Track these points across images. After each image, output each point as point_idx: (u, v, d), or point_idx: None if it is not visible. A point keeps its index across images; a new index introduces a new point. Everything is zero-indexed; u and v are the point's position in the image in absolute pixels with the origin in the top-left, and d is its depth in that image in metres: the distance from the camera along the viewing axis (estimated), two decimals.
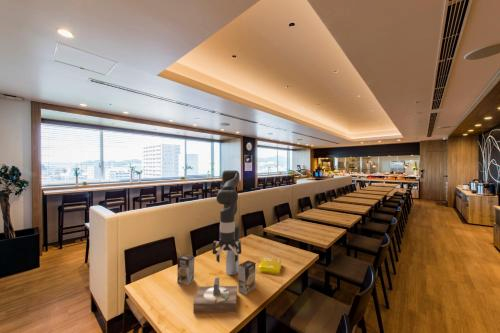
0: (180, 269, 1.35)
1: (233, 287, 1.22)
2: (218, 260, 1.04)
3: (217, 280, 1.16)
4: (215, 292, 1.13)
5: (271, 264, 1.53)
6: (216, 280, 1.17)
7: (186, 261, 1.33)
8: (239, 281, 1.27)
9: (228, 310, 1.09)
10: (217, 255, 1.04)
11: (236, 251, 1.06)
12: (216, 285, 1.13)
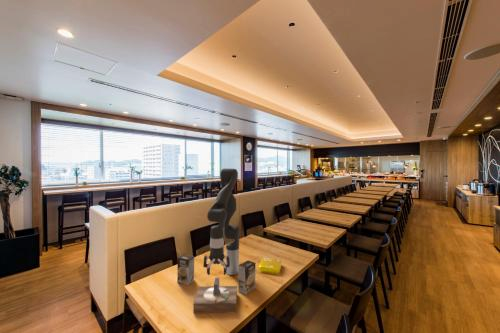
0: (180, 269, 1.35)
1: (233, 287, 1.22)
2: (208, 273, 1.15)
3: (217, 280, 1.16)
4: (215, 292, 1.13)
5: (271, 264, 1.53)
6: (216, 280, 1.17)
7: (186, 261, 1.33)
8: (239, 281, 1.27)
9: (228, 310, 1.09)
10: (207, 268, 1.15)
11: (225, 264, 1.16)
12: (216, 285, 1.13)
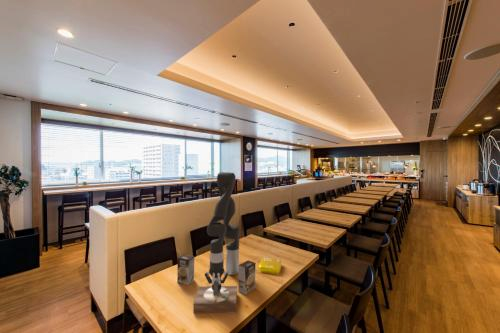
0: (180, 269, 1.35)
1: (233, 287, 1.22)
2: (213, 289, 1.15)
3: (217, 280, 1.16)
4: (215, 292, 1.13)
5: (271, 264, 1.53)
6: (216, 280, 1.17)
7: (186, 261, 1.33)
8: (239, 281, 1.27)
9: (228, 310, 1.09)
10: (212, 284, 1.15)
11: None
12: (216, 285, 1.13)
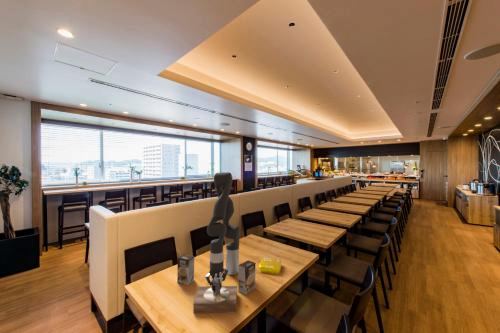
0: (180, 269, 1.35)
1: (233, 287, 1.22)
2: (214, 290, 1.14)
3: (217, 280, 1.17)
4: (217, 292, 1.13)
5: (271, 264, 1.53)
6: (216, 280, 1.16)
7: (186, 261, 1.33)
8: (239, 281, 1.27)
9: (228, 310, 1.09)
10: None
11: None
12: (218, 285, 1.13)
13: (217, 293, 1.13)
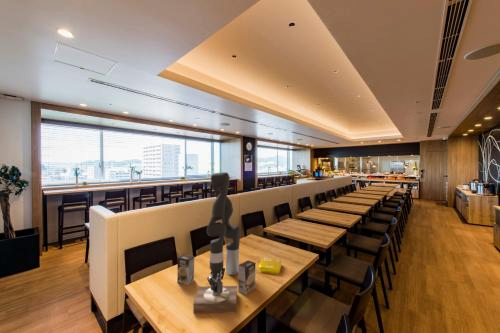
0: (180, 269, 1.35)
1: (233, 287, 1.22)
2: (216, 290, 1.14)
3: None
4: (221, 290, 1.14)
5: (271, 264, 1.53)
6: None
7: (186, 261, 1.33)
8: (239, 281, 1.27)
9: (228, 310, 1.09)
10: (215, 286, 1.14)
11: (218, 279, 1.18)
12: (221, 283, 1.14)
13: (220, 292, 1.14)
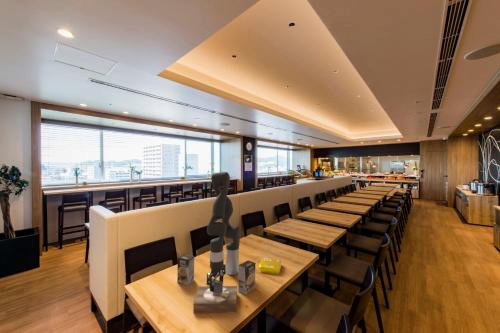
0: (180, 269, 1.35)
1: (233, 287, 1.22)
2: (213, 289, 1.12)
3: (216, 280, 1.17)
4: (221, 290, 1.14)
5: (271, 264, 1.53)
6: None
7: (186, 261, 1.33)
8: (239, 281, 1.27)
9: (228, 310, 1.09)
10: (212, 285, 1.11)
11: None
12: (221, 283, 1.15)
13: (221, 291, 1.14)
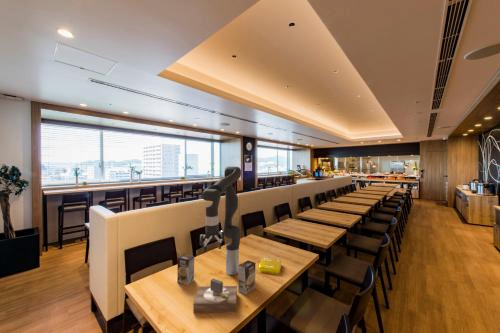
0: (180, 269, 1.35)
1: (233, 287, 1.22)
2: (205, 250, 1.20)
3: (216, 280, 1.17)
4: (221, 290, 1.14)
5: (271, 264, 1.53)
6: (215, 280, 1.16)
7: (186, 261, 1.33)
8: (239, 281, 1.27)
9: (228, 310, 1.09)
10: (204, 246, 1.20)
11: None
12: (221, 283, 1.15)
13: (221, 291, 1.14)
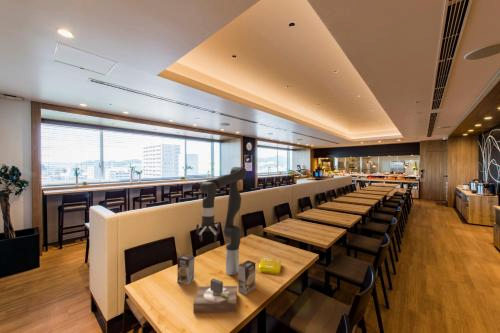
0: (180, 269, 1.35)
1: (233, 287, 1.22)
2: (200, 239, 1.27)
3: (216, 280, 1.17)
4: (221, 290, 1.14)
5: (271, 264, 1.53)
6: (215, 280, 1.16)
7: (186, 261, 1.33)
8: (239, 281, 1.27)
9: (228, 310, 1.09)
10: (200, 235, 1.27)
11: (215, 232, 1.29)
12: (221, 283, 1.15)
13: (221, 291, 1.14)
